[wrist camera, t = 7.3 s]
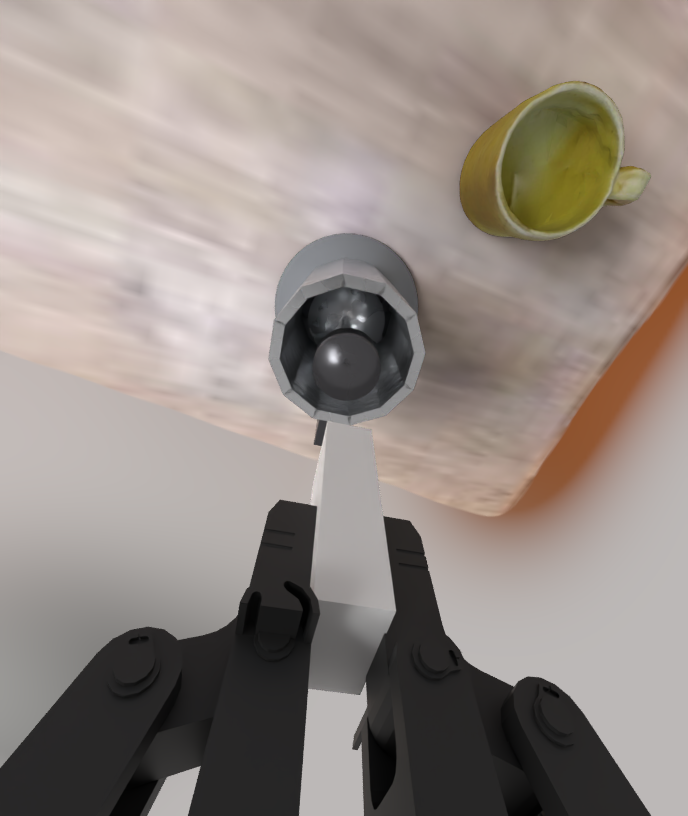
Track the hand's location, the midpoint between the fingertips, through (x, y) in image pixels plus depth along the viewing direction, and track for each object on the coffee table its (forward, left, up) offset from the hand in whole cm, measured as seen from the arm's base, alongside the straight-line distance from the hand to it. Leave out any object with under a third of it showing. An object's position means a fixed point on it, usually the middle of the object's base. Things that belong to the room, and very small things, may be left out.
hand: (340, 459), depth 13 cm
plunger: (0, 0, -23) cm, 23 cm away
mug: (-14, +13, -27) cm, 33 cm away
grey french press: (+2, 0, -26) cm, 26 cm away
